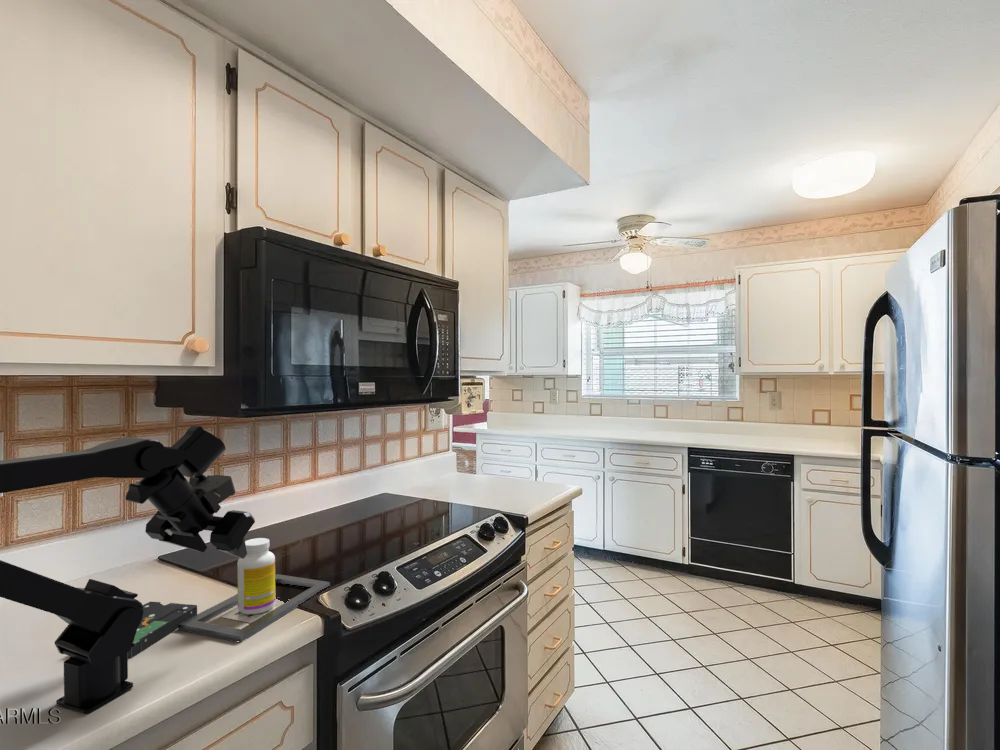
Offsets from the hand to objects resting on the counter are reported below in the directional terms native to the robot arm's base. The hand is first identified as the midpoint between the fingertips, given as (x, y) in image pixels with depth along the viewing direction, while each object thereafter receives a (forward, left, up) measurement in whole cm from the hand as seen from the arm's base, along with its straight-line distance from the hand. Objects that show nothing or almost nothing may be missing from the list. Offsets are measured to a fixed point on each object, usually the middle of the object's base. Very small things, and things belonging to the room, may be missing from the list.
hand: (224, 553), depth 95 cm
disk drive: (-7, +12, -14) cm, 19 cm away
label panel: (+8, 0, -13) cm, 16 cm away
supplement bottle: (+7, 0, -13) cm, 15 cm away
